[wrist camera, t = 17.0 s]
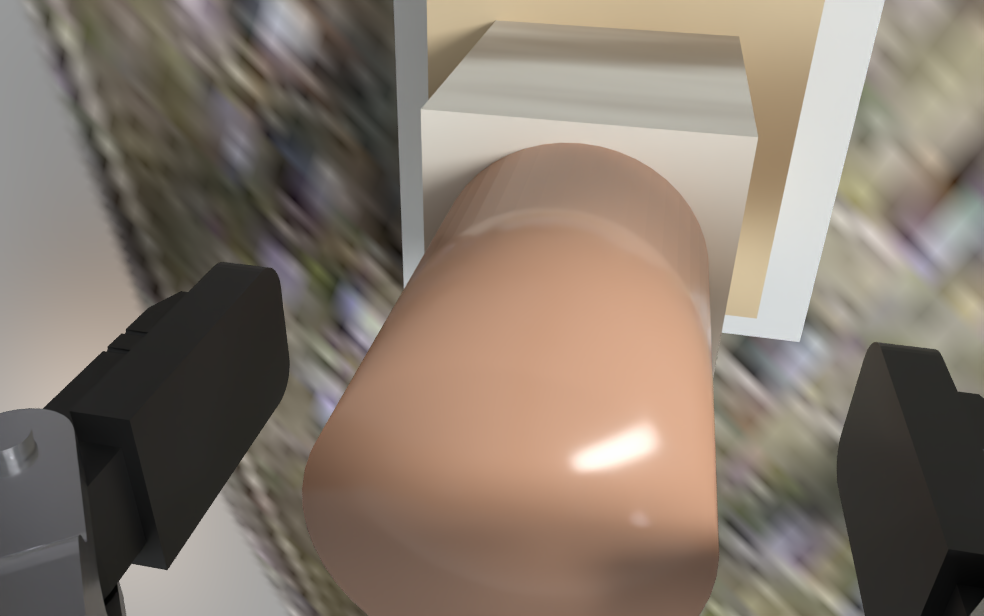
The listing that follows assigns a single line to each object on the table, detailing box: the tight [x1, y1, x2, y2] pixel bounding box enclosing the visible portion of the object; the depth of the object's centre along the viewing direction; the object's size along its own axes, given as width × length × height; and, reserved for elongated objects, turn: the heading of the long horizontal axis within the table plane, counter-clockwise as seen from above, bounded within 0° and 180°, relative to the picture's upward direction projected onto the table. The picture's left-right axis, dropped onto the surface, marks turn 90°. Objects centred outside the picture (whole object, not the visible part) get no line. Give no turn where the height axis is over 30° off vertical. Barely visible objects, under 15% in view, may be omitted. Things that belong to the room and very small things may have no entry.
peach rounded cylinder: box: [302, 143, 719, 616], centre depth 12 cm, size 4×4×6 cm
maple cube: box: [421, 20, 758, 376], centre depth 17 cm, size 5×5×6 cm
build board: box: [394, 0, 885, 342], centre depth 23 cm, size 14×12×1 cm
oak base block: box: [427, 0, 825, 319], centre depth 21 cm, size 8×8×4 cm
